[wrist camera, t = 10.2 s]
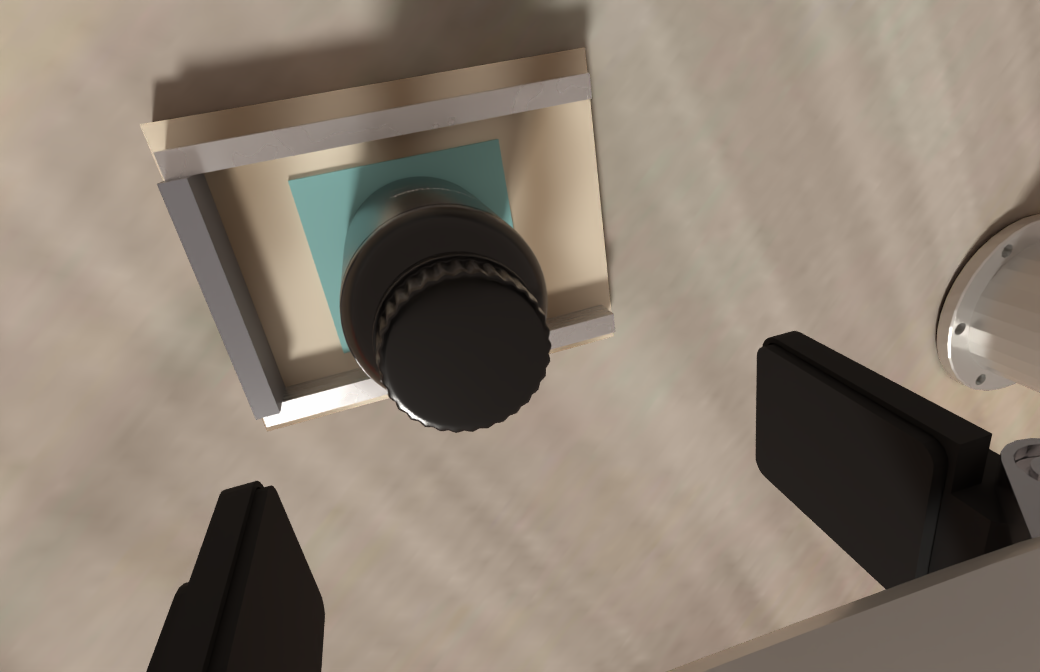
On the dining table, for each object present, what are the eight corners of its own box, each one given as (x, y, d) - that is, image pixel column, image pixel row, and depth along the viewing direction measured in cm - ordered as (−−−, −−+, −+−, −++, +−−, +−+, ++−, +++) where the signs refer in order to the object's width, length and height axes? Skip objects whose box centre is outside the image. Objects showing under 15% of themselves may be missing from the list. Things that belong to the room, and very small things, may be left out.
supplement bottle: (439, 141, 25) (511, 173, 14) (521, 266, 28) (631, 371, 17) (307, 234, 24) (277, 338, 14) (404, 349, 28) (441, 507, 17)
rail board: (572, 49, 26) (608, 41, 23) (602, 326, 32) (634, 354, 29) (152, 122, 23) (115, 127, 19) (270, 416, 29) (260, 460, 25)
